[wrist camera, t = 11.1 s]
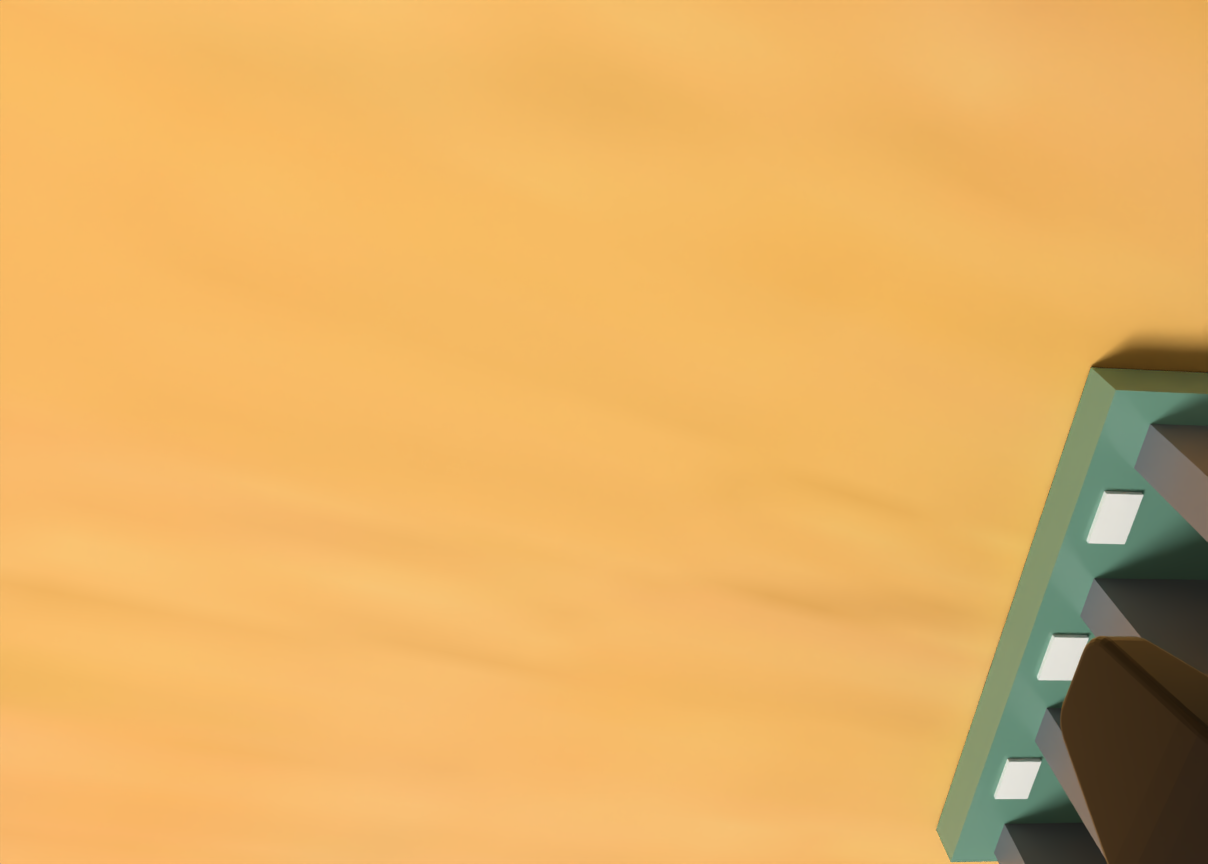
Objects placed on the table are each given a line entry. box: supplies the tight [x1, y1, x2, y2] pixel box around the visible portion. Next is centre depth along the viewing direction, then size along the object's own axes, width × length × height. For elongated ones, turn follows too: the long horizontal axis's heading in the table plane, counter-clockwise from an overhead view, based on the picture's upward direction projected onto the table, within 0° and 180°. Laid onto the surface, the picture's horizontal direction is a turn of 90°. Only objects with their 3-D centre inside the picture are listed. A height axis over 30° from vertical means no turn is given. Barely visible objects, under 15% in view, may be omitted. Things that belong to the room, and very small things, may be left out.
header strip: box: [936, 367, 1208, 862], centre depth 24 cm, size 13×7×4 cm, turn 175°
